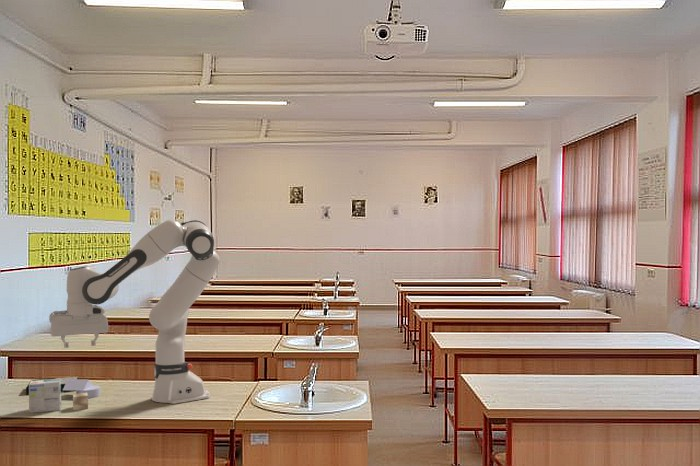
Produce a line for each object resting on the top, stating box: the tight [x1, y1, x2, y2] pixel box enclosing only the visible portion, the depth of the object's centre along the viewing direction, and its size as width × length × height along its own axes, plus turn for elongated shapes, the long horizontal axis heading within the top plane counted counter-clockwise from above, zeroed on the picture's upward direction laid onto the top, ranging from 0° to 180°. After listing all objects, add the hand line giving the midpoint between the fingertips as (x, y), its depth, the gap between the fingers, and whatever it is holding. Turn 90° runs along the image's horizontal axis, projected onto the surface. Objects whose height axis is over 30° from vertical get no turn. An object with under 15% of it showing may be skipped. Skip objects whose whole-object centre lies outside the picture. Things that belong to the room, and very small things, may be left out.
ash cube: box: [72, 393, 89, 411], centre depth 250 cm, size 5×5×5 cm
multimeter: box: [25, 376, 80, 396], centre depth 280 cm, size 13×19×5 cm
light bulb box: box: [28, 378, 62, 414], centre depth 248 cm, size 11×7×11 cm, turn 110°
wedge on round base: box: [63, 378, 101, 400], centre depth 268 cm, size 9×7×13 cm
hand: (79, 346), depth 250 cm, fingers open, 8 cm apart
